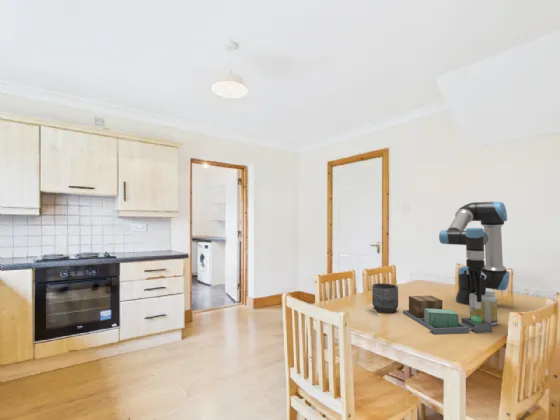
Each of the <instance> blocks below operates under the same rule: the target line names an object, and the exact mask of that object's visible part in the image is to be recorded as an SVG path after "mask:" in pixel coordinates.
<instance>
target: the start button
mask: <svg viewBox="0 0 560 420" xmlns="http://www.w3.org/2000/svg"><path fill="white" fill-rule="evenodd" d="M471 321H473V322H475V323H482V317H480V316H476V315H471Z"/></svg>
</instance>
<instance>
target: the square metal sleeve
mask: <svg viewBox="0 0 560 420" xmlns="http://www.w3.org/2000/svg"><path fill="white" fill-rule="evenodd" d="M460 321H461V322H460V323H461V324H463V325H465V326H467V327H469V332H472V333H474V334H479V333H481V334H482V333H485V332H486V333H493V326H492V323H489V322H487V321H485V320H482V323H475V322H473V321H471V318H470V317H461V319H460ZM486 333H485V334H486Z"/></svg>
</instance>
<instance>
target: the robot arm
mask: <svg viewBox="0 0 560 420" xmlns="http://www.w3.org/2000/svg"><path fill="white" fill-rule="evenodd" d="M507 221H508V213H507V209H506V205H505V204H504V202H502V201H483V202H482V201H480V202H477V201H475V202H470V203H466V204H465V205H464V204H463V206H461V207H460V208H458V209H457V211H456V212H455V214H454V219H453V221H452V222H451V223H450V225H449V227H448V228H447V230H446V229H444V230H440V231H439V234H438V239H439V242H440V243H441V244H443V245H457V246H458V245H459V246H465V251H466V252H465V253H466V254H465V255H466V257H465V258H466V263H465V264H466V266H460V267H459V268H458V274H457V275H458V290H457V293H456V296H455V301H456V302H457V303H459V304H463V305H467V306H470V305H469V295H470V298H471V307H475V308H476V309H480V308H481V301H482V295H485V292H486V288H487V289H492V290H494V291H495V290H497V291H506V290H508V286H509V281H510V271H508V270H507V268H506V266H504V262H503V239H502V238H503V237H502V226H504V225H505V222H507ZM471 222H480V225H481V226H482V227H467V226H468V224H469V223H471ZM484 259H485V260H484Z"/></svg>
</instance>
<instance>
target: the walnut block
mask: <svg viewBox="0 0 560 420" xmlns="http://www.w3.org/2000/svg"><path fill="white" fill-rule="evenodd" d="M425 308H426V309H443V299H440V298H439V297H435V296H432V295H408V310H409V313H410V314H412V315H413V316H415V317H417V318H424V309H425Z"/></svg>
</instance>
